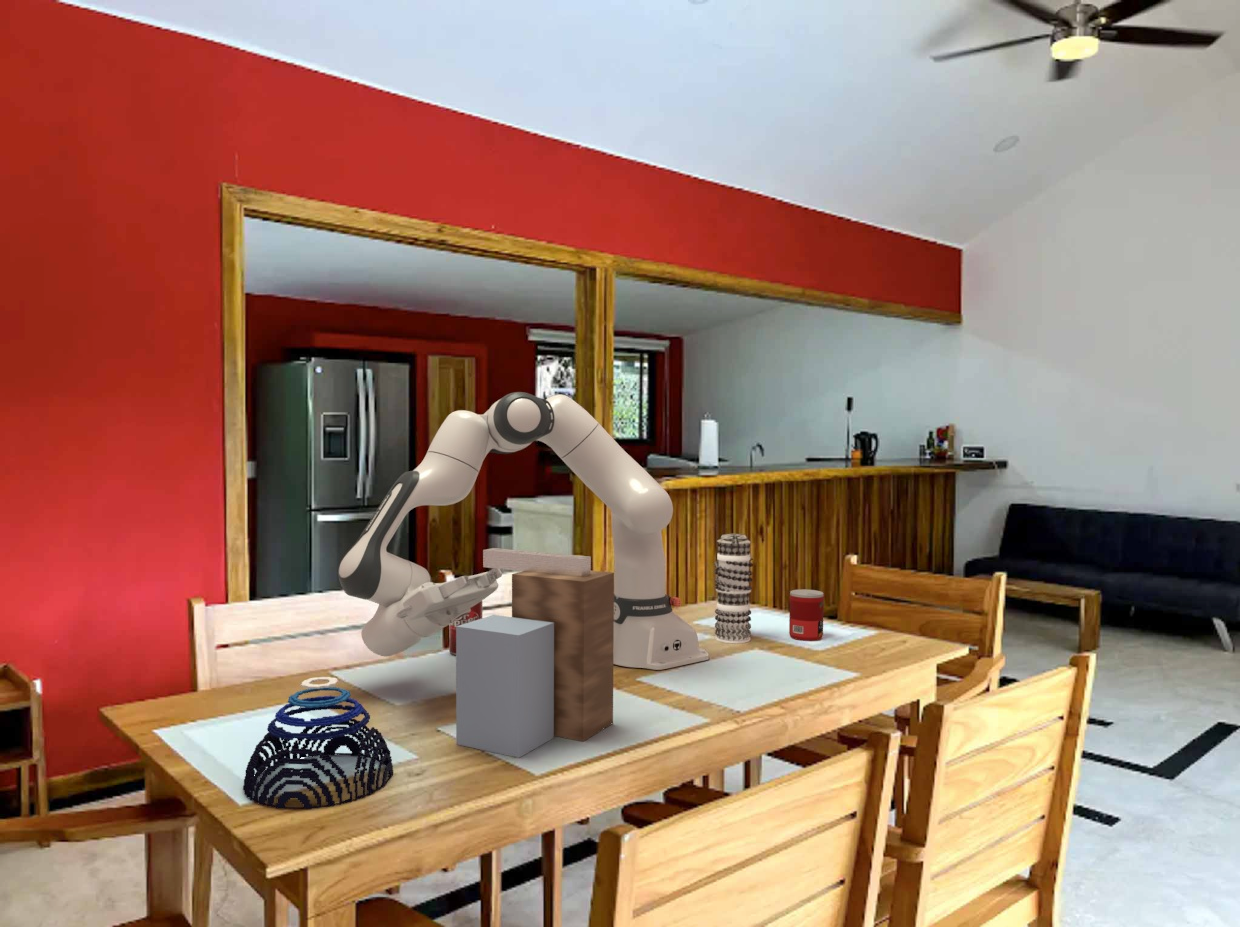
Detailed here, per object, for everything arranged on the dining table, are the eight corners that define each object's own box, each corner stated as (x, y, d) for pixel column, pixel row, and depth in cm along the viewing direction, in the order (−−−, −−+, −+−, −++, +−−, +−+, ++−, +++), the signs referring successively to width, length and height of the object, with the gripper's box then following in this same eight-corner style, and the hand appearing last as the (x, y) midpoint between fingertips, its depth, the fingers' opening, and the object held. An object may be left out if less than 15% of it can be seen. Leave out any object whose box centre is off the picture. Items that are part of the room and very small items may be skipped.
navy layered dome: (279, 753, 141) (278, 661, 140) (407, 756, 140) (407, 663, 140) (218, 808, 121) (217, 701, 120) (367, 811, 120) (366, 704, 120)
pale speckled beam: (483, 567, 159) (483, 550, 159) (493, 564, 162) (493, 547, 161) (581, 577, 149) (581, 558, 149) (590, 574, 152) (590, 556, 152)
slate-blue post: (456, 744, 145) (456, 626, 144) (493, 725, 154) (493, 614, 153) (518, 757, 139) (518, 635, 138) (553, 738, 148) (554, 622, 147)
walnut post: (511, 727, 153) (511, 574, 152) (544, 710, 162) (544, 565, 161) (583, 741, 146) (584, 581, 145) (612, 723, 155) (613, 572, 154)
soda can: (475, 657, 198) (475, 603, 197) (444, 655, 199) (444, 601, 199) (487, 649, 205) (487, 596, 204) (456, 647, 206) (456, 595, 206)
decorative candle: (759, 638, 217) (761, 534, 215) (738, 646, 210) (739, 538, 208) (727, 632, 223) (729, 531, 221) (705, 639, 216) (707, 534, 214)
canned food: (826, 641, 215) (826, 595, 214) (792, 641, 215) (792, 595, 214) (819, 633, 222) (820, 589, 222) (786, 633, 222) (787, 589, 222)
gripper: (384, 602, 158) (437, 568, 152) (457, 583, 176) (508, 552, 170) (398, 635, 157) (452, 602, 151) (471, 612, 175) (522, 582, 169)
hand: (482, 575), depth 161 cm, fingers open, 8 cm apart
